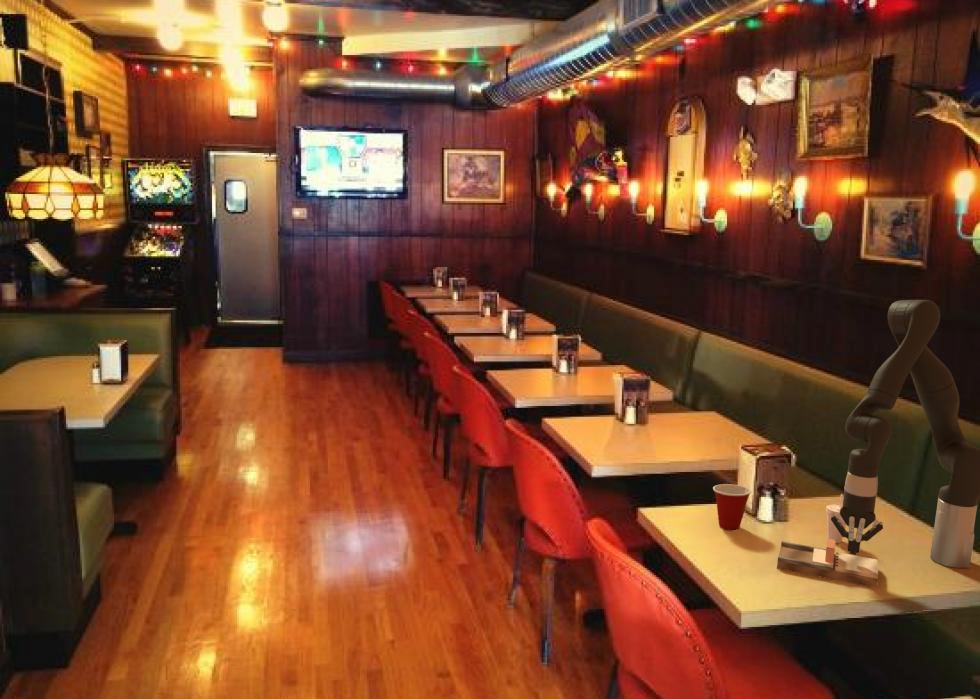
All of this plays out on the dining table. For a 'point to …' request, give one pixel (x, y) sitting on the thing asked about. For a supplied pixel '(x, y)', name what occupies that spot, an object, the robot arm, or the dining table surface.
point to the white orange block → (825, 554)
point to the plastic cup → (731, 504)
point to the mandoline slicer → (842, 569)
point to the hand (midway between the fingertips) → (852, 553)
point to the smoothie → (831, 528)
